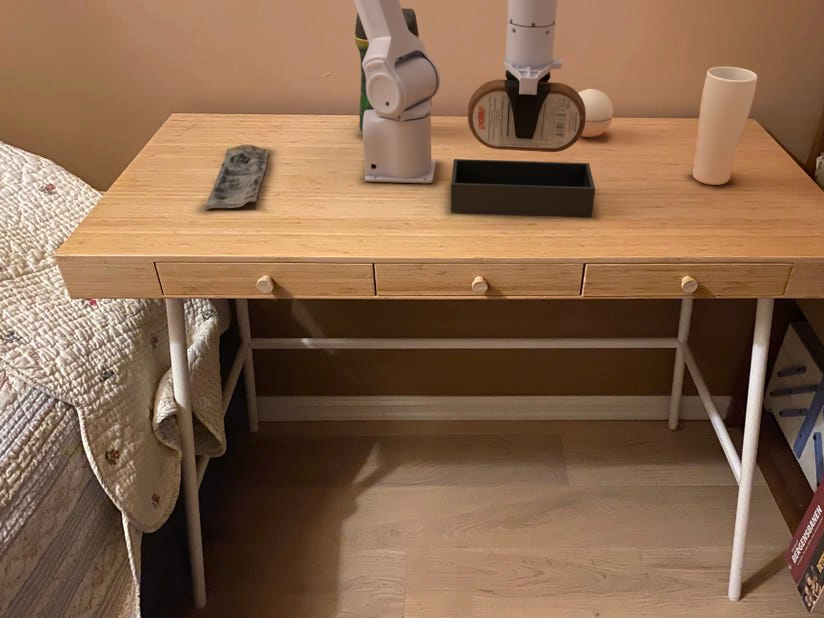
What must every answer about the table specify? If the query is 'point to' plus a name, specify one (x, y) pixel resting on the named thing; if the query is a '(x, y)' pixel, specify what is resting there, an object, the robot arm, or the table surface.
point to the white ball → (596, 112)
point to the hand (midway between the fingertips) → (524, 133)
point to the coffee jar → (363, 47)
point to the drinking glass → (722, 122)
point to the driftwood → (238, 177)
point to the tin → (554, 126)
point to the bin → (522, 188)
